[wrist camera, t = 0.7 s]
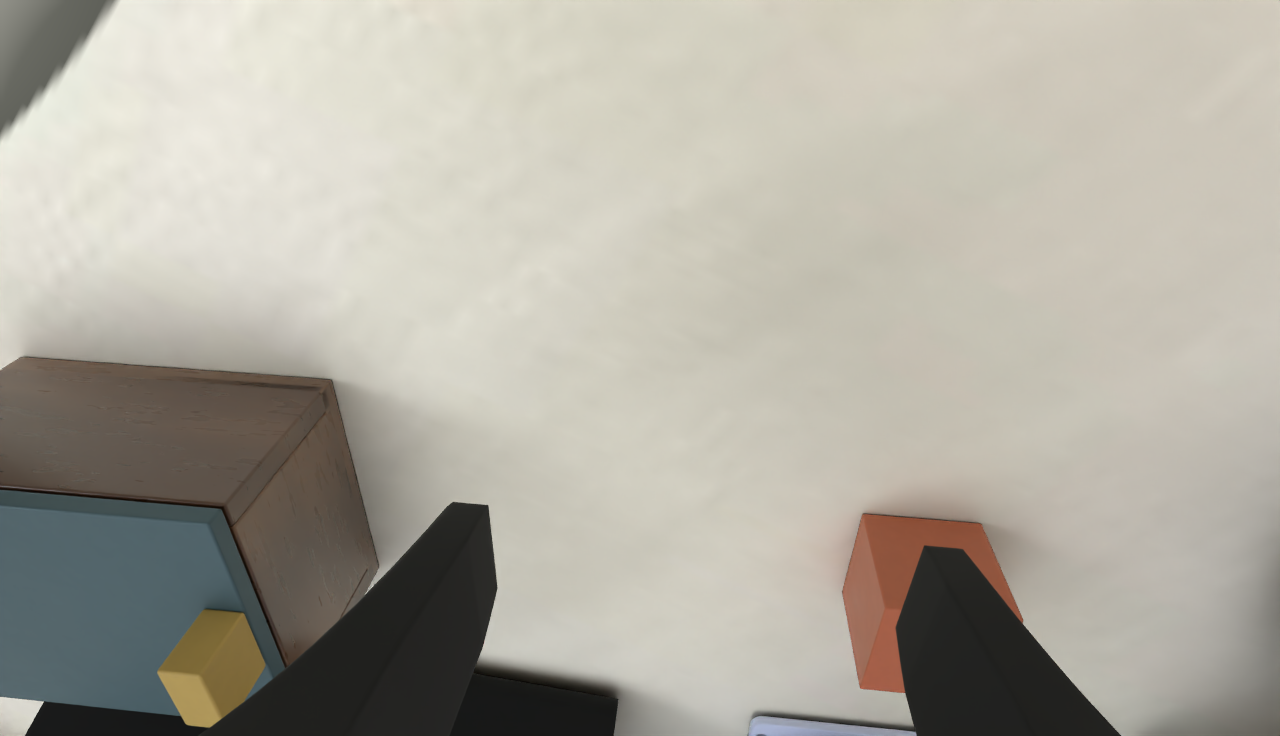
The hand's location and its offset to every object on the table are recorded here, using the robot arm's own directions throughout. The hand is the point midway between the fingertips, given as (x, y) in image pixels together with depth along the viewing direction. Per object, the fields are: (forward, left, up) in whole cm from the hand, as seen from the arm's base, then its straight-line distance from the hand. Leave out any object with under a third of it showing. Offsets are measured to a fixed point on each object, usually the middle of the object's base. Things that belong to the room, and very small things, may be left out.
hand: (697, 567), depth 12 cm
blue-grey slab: (-8, +18, -4) cm, 20 cm away
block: (-10, -8, -10) cm, 16 cm away
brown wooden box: (-8, +18, -10) cm, 22 cm away
